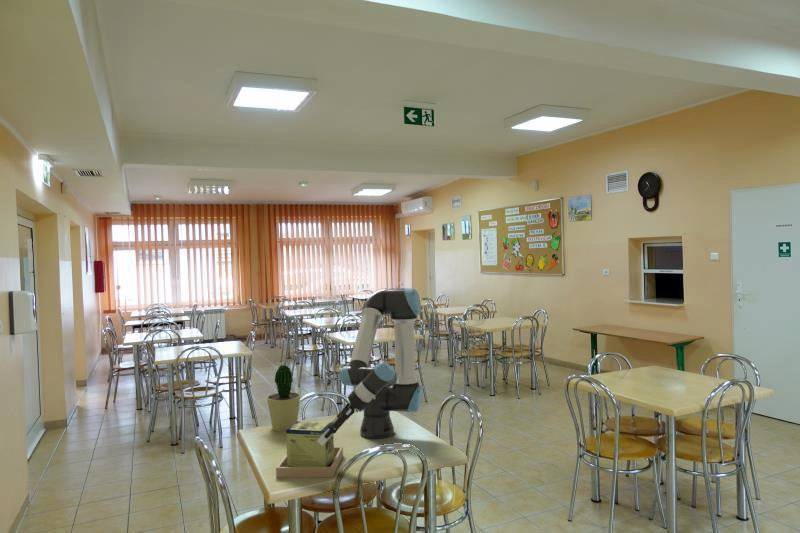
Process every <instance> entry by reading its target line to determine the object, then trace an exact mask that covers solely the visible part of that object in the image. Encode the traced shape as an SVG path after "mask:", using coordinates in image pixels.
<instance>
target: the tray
mask: <svg viewBox="0 0 800 533" xmlns="http://www.w3.org/2000/svg"><path fill="white" fill-rule="evenodd" d="M343 457H344V447H343V446H334V461H333V463H332V465H331V466H330V467H287V453H286V454H285V455H284V456H283V458H282V459H281V460H280V461H279V463H278V465H277V466H276V468H275V472H276V473H275V476H276V478H333V477H334V476H333V475H335V473H336V471H337V470H338V467H339V464H340V462H341V460H342V459H343Z"/></svg>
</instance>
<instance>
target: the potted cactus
mask: <svg viewBox="0 0 800 533" xmlns="http://www.w3.org/2000/svg"><path fill="white" fill-rule="evenodd" d="M274 374H275V375H274V380H273V383H274V384H275V388H276V390H277V392H276V393H273V394H270V395H267V396H266V399H267V405H268V411H269V416H270V422H271V427H272V430H273V431H277V432H286V431H285V430H286V429H288V428H289V427H290V426H292V425H293V424H294V423H296V422H297V421H298V420H299V409H300V403H301V402H300V401H301V394H300V393H299V392H295V391H293V392H292V391H291V390H292V384H293V382H295V380H294V378H293V374H294V372H292V369H291V367H290V366H288V364H287V365H286V364H281V365H278V366H277V368H276V371H275V373H274Z"/></svg>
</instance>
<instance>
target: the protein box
mask: <svg viewBox="0 0 800 533" xmlns="http://www.w3.org/2000/svg"><path fill="white" fill-rule="evenodd" d="M332 425H333V422H332V421H325V422H324V421H302V420H301V421H298V420H297V422H296V423H294V424H293V425H292V426H290V427H289V428H288V429H286V431H285V432H286V434H285V435H286V436H285V437H286V438H285V439H286V454H287V466H286V467H331V465H332V463H333V461H334V459H335V456H334V447H335V442H334V441H335V440H334V439H335V438H334V435H335V434H333V435H332V436H331V437H330V438H329V440H328V441H327V442H326V443H325V444H324V445H323V446H322V445H321V444H320V443H319V442H317V440H318V439H319V438H320V437H321V436H322V435H323V434H324V433H325V432H326V430H327V429H328V426H330V427H331V426H332Z"/></svg>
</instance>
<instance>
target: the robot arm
mask: <svg viewBox="0 0 800 533" xmlns="http://www.w3.org/2000/svg"><path fill="white" fill-rule="evenodd" d="M421 312H422V304H421V297H420V294H419V292H418V290H417V289H415V288H413V287H412V288H411V287H410V288H408V287H405V288H404V287H403V288H402V287H401V288H400V287H397V288H381V289H378V290H376V291H374V292H372V294H371V295H370V296H369V297H367V299H366V300H365V302H364V303H363V305H362V308H361V312H360V316H361V319H360V323H359V327H358V331H357V334H356V339H355V343H354V346H353V349H352V353H351V357H350V361H349V364H348V365H346V366H343V367H342V368H341V369H340V374H339V376H340V382H341V384H342V385H344V386H349V387H355V388H354V390H352V391H351V392H350V393H349V395H348V396H347V401H348V402H349V403H348V402H347V403H346V404H345V406H344V407H343V408H342V410H341V411H340V412H339V413H338V414H337V415H336V417H334V419H332V420H331V422H333V425H332V426H331V427H330V426H328V429H327V430H326V432H325V433H324V434H323V435H322V436H321V437H320V438H319V439H318V440H317V442H319V443H320V444H321V445H322V446H323V445H324V444H325V443H326V442H327V441H328V440H329V438H330V437H331V436H332V435H335V434H336V433H337V432H338V430H339V429H340V428H341V427H342V425H343V424H344V423H345V422H346V421H347V420H349V419H350V417H351V416H353V414H354V413H355V411H356V410H357V411H363V417H362V422H361V424H360V428H359V435H360V436H361V437H363V438H365V439H372V440H373V439H385V438H389V437H391V436H393V435H394V434H395V427H394V424H393V422H392V419H391V413H390V412H406V413H415V412H418V411H419V410H420V408H421V406H422V403H423V397H424V386H423V385H422V384H420V383H419V382H420V381H419V379H418V378H417V377H416V363H415V362H416V360H415V359H416V358H415V322H416V320H418V316H419V315H420V314H421ZM385 315H387V316H390V320H391V321H392V323H394V329H393V330H394V358H395V361H394V362H395V363H394V364H395V367H393V366H391V364H390V363H389V362H387V361H385V360H381V361H380V362H378V363H377V364H376V365H375V366H369V363H370V358H371V355H372V351H373V346H374V342H375V338H376V335H377V331H378V328H379V323H380V322H381V321H382V319H383V317H384V316H385Z"/></svg>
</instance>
